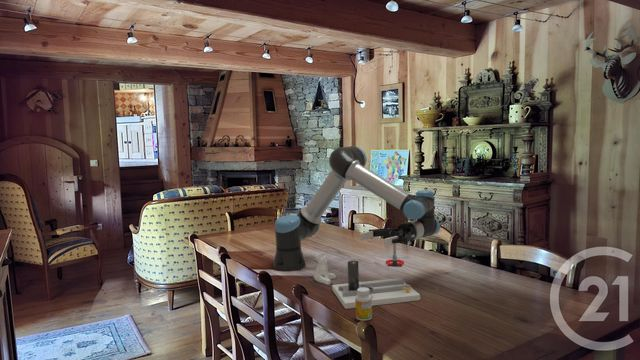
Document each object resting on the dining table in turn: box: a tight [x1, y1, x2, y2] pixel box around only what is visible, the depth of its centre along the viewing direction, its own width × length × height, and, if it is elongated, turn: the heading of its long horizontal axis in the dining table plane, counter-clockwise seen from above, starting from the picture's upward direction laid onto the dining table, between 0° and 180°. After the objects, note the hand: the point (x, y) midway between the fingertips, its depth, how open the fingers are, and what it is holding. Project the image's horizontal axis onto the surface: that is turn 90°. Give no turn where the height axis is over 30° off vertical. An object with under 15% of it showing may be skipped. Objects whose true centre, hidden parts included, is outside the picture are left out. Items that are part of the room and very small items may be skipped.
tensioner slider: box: [342, 260, 374, 292], centre depth 162 cm, size 11×10×11 cm
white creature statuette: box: [313, 252, 337, 286], centre depth 184 cm, size 10×9×12 cm
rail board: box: [331, 277, 421, 310], centre depth 166 cm, size 28×20×4 cm
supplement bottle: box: [355, 287, 373, 322], centre depth 146 cm, size 5×5×10 cm
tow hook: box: [385, 244, 405, 267], centre depth 206 cm, size 8×13×9 cm
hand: (372, 239), depth 169 cm, fingers open, 13 cm apart
